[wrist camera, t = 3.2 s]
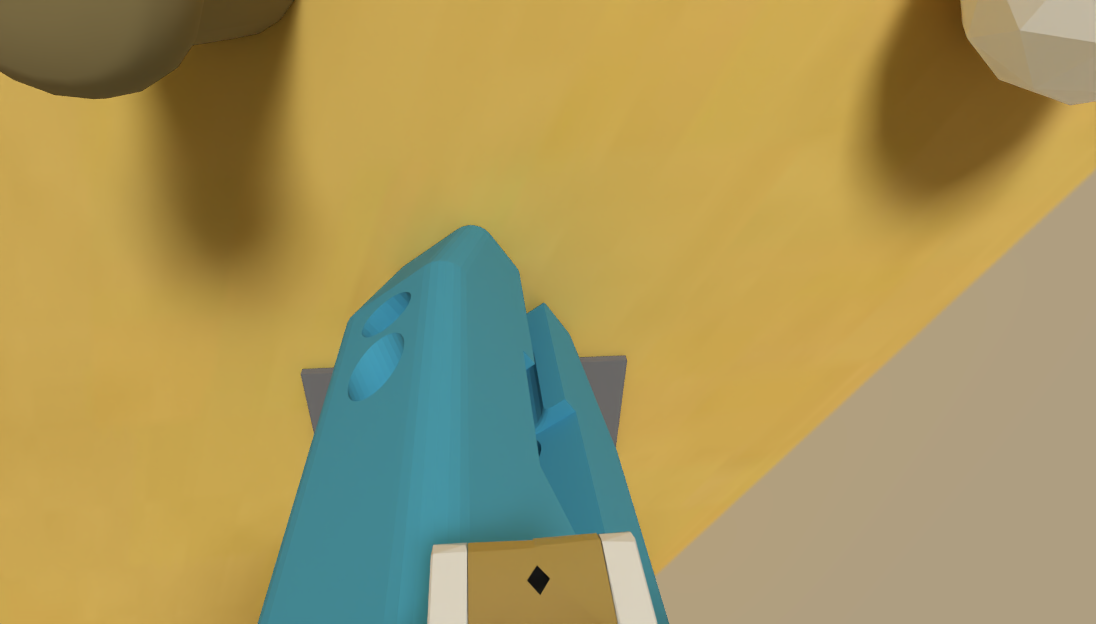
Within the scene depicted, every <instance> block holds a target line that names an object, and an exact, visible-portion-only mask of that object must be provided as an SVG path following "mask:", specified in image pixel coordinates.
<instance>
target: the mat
mask: <svg viewBox="0 0 1096 624" xmlns="http://www.w3.org/2000/svg"><path fill="white" fill-rule="evenodd" d="M579 359H580V361H581V364H582V366H583V369H584V371H585V373H586V376H587V378H588V381H589V383H590V386H591V388H592V391H593V393H594V396H595V398H596V401H597V403H598V406H599V408H600V410H601V413H602V415H603V418H604V420H605V423H606V425H607V428H608V430H609V433H610V435H611V438H612V440H613V443H614V445H615V448H616V442H617V434H618V426H619V418H620V411H621V403H622V395H623V387H624V379H625V372H626V364H627V359H626V356H603V357H579ZM333 370H334V368H318V369H302V372H301V378H302V382H303V386H304V391H305V395H306V400H307V404H308V409H309V413H310V417H311V422H312V426H313V431H314V433H315V430H316V427H317V423H318V420H319V417H320V413H321V410H322V406H323V403H324V400H325V396H326V393H327V390H328V386H329V383H330V380H331V376H332V373H333Z"/></svg>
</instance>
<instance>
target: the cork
mask: <svg viewBox="0 0 1096 624" xmlns="http://www.w3.org/2000/svg"><path fill="white" fill-rule="evenodd" d="M293 1H294V0H0V72H2V73H3V74H5V75H7V76H8V77H10V78H12V79H13V80H16V81H18V82H21V83H24V84H26V85H29V86H32V87H35V88H37V89H40V90H43V91H45V92H48V93H51V94H53V95H60V96H70V97H79V98H89V99H104V98H111V97H116V96H121V95H126V94H131V93H135V92H140V91H143V90H144V89H146V88H147V87H149V86H150V85H152V84H153V83H155V82H156V81H158V80H159V79H161V78H163V77H164V76H166V75H167V74H169V73H170V72H172V71H173V70H174V69H176V68H177V67H178V66H179V65H180V63H181V62H182V60H183V59H184V57H185V56H186V54H187V53H188V51H189V50H190V48H191V47H192V45H197V44H204V43H210V42H216V41H222V40H228V39H234V38H239V37H244V36H248V35H253V34H258V33H260V32H262V31H264V30H265V29H267V28H268V27H270V26H271V25H273V24H274V23H276V22H277V21H279V20H281V18H282V17H283V15H284V14H285V13H286V11H287V10H288V8H289V7H290V5H291V4H292V3H293Z"/></svg>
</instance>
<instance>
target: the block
mask: <svg viewBox="0 0 1096 624" xmlns="http://www.w3.org/2000/svg"><path fill="white" fill-rule="evenodd" d="M627 531H629V532H631V533H632V535H633V536H634V537H635V540H636V544H637V547H638V551H639V555H640V559H641V563H642V567H643V570H644V574H645V578H646V582H647V586H648V589H649V593H650V597H651V601H652V605H653V608H654V612H655V616H656V620H657V624H669V622H668V618H667V615H666V612H665V609H664V605H663V602H662V599H661V595H660V592H659V589H658V586H657V582H656V579H655V576H654V572H653V569H652V566H651V562H650V559H649V556H648V552H647V549H646V546H645V543H644V539H643V536H642V533H641V529H640V526H639V523H638V519H637V516H636V513H635V510H634V506H633V503H632V500H631V496H630V493H629V490H628V486H627V483H626V480H625V476H624V473H623V470H622V467H621V463H620V460H619V457H618V453H617V450H616V448H615V445H614V443H613V440H612V438H611V435H610V433H609V430H608V428H607V425H606V423H605V420H604V418H603V415H602V413H601V410H600V408H599V406H598V403H597V401H596V398H595V396H594V393H593V391H592V388H591V386H590V383H589V381H588V378H587V376H586V373H585V371H584V369H583V366H582V364H581V361H580V359H579V356H578V354H577V351H576V349H575V346H574V344H573V341H572V339H571V336H570V335H569V333H568V332H567V330H566V329H565V328H564V327H563V325H562V324H561V323H560V322H559V320H558V319H557V318H556V317H555V315H554V314H553V313H552V312H551V310H550V309H549V308H548V307H547V305H546V304H545V303H543V304H541V305H539V306H538V307H536V308H535V309H533V310H532V311H530V312H528V313H527V314H526V309H525V303H524V297H523V292H522V286H521V280H520V274H519V271H518V269H517V268H516V266H515V265H514V264H513V263H512V261H511V260H510V259H509V257H508V256H507V255H506V254H505V252H504V251H503V250H502V249H501V247H500V246H499V245H498V244H497V242H496V241H495V240H494V239H493V237H492V236H491V235H490V234H489V233H488V232H487V231H486V230H485V229H483V228H481V227H478V226H474V225H468V226H463V227H461V228H459V229H457V230H456V231H454V232H453V233H451V234H450V235H448V236H447V237H446V238H444V239H443V240H441V241H440V242H438V243H437V244H435V245H434V246H432V247H431V248H430V249H428V250H427V251H425V252H424V253H422V254H421V255H419V256H418V257H417V258H415V259H414V260H412V261H411V262H409V263H408V264H406V265H405V266H404V267H402V268H401V269H400V270H399V271H398V272H397V273H396V274H395V275H394V276H393V277H392V278H391V279H390V280H389V281H388V282H387V283H386V284H385V285H384V286H383V287H382V288H381V289H380V290H379V291H377V292H376V293H375V294H374V295H373V296H372V297H371V298H370V299H369V300H368V301H367V302H366V303H365V304H364V305H363V306H362V307H361V308H360V309H359V310H358V311H357V312H356V313H355V314H354V315H353V316H352V317H351V318H350V319H349V321H348V323H347V326H346V329H345V333H344V336H343V339H342V343H341V346H340V349H339V353H338V356H337V360H336V363H335V366H334V370H333V373H332V376H331V380H330V383H329V386H328V390H327V393H326V396H325V400H324V403H323V406H322V410H321V413H320V417H319V420H318V423H317V427H316V430H315V433H314V437H313V440H312V443H311V447H310V450H309V453H308V457H307V460H306V463H305V467H304V470H303V474H302V477H301V480H300V484H299V487H298V490H297V494H296V497H295V500H294V504H293V507H292V510H291V514H290V517H289V520H288V524H287V527H286V531H285V534H284V537H283V541H282V544H281V547H280V551H279V554H278V557H277V561H276V564H275V567H274V571H273V574H272V577H271V581H270V584H269V588H268V591H267V594H266V598H265V601H264V604H263V608H262V611H261V614H260V618H259V621H258V624H427V619H428V599H429V580H430V561H431V553H432V548H433V545H438V544H453V543H467V544H468V543H474V542H494V541H513V540H533V538H544V537H555V536H567V535H579V534H591V533H597V534H605V533H616V532H627Z"/></svg>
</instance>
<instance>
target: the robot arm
mask: <svg viewBox="0 0 1096 624" xmlns="http://www.w3.org/2000/svg"><path fill="white" fill-rule="evenodd" d="M427 624H657V620H656V616H655V612H654V608H653V605H652V601H651V597H650V593H649V589H648V586H647V582H646V578H645V574H644V570H643V567H642V563H641V559H640V555H639V551H638V547H637V544H636V540H635V537H634V536H633V535H632V533H631V532H629V531H627V532H616V533H605V534H597V533H591V534H579V535H567V536H555V537H544V538H533V540H513V541H494V542H474V543H468V544H467V543H453V544H438V545H433V548H432V553H431V561H430V580H429V599H428V619H427Z"/></svg>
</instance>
